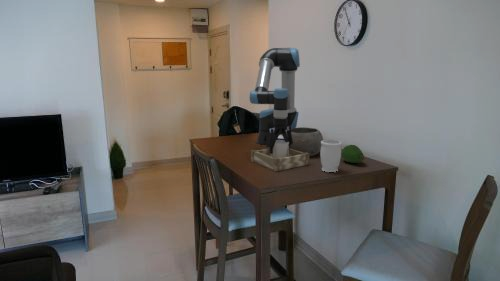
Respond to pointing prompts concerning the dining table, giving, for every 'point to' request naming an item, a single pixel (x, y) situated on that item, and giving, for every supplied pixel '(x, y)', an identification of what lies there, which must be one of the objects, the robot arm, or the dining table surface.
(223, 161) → the dining table surface
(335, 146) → the jar
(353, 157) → the fruit
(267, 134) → the robot arm
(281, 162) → the crate
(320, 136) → the bowl
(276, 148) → the cup
